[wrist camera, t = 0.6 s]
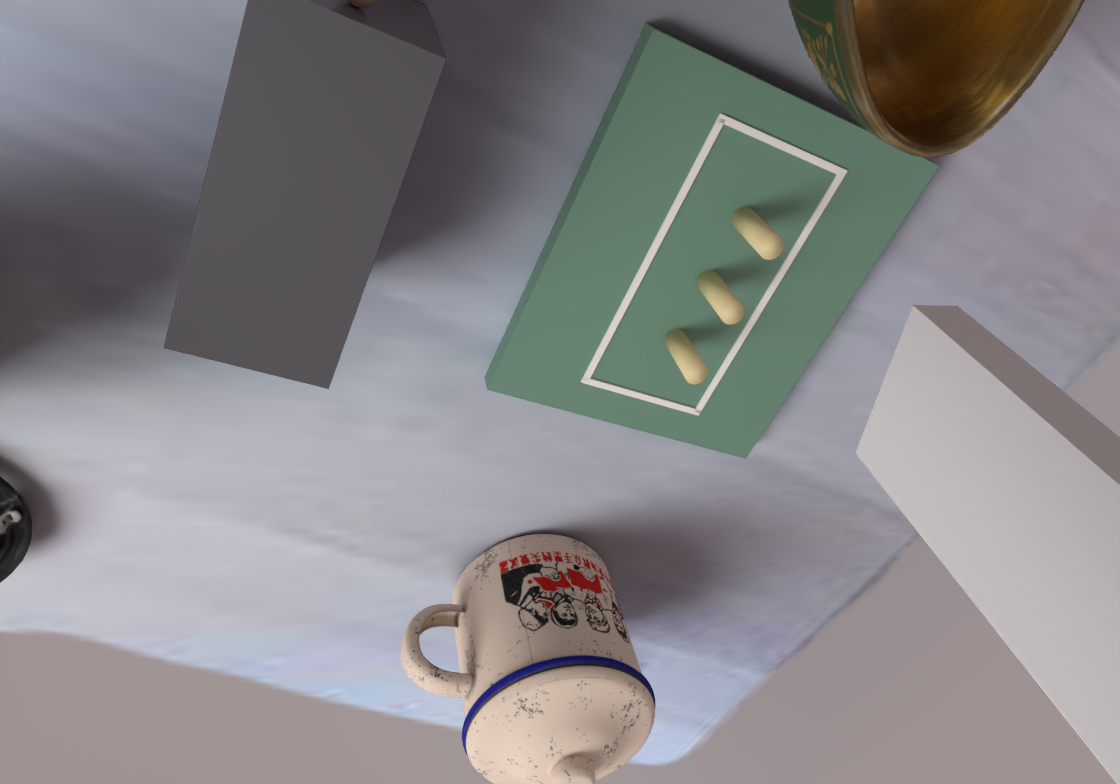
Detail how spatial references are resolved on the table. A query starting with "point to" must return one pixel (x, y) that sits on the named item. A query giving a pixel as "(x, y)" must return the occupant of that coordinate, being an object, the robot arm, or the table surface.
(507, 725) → the teacup with lid
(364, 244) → the block
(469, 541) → the table surface
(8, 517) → the milk frother
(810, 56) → the green gold gravy boat
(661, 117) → the pin board
